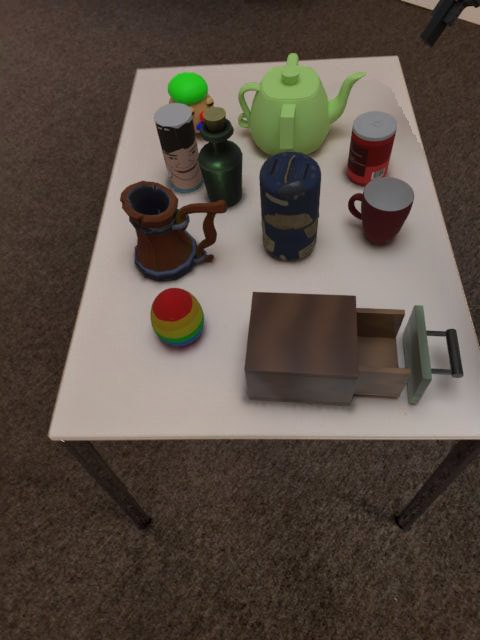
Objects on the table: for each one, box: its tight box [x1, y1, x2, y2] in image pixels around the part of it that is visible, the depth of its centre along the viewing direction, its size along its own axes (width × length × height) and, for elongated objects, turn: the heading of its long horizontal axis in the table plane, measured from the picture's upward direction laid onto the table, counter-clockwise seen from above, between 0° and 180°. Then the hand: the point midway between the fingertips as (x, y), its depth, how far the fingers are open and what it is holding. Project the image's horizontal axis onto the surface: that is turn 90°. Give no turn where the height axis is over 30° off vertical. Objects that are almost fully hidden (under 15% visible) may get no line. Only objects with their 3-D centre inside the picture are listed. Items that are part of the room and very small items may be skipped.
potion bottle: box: [198, 106, 244, 208], centre depth 87 cm, size 8×8×18 cm
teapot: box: [237, 52, 367, 156], centre depth 97 cm, size 19×20×14 cm
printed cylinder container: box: [153, 103, 204, 194], centre depth 91 cm, size 7×7×15 cm
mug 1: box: [119, 180, 228, 282], centre depth 80 cm, size 18×12×15 cm, turn 81°
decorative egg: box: [149, 287, 205, 347], centre depth 74 cm, size 8×8×10 cm
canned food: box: [346, 110, 398, 187], centre depth 90 cm, size 8×8×11 cm
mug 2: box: [347, 176, 415, 245], centre depth 82 cm, size 11×8×10 cm
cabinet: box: [244, 291, 359, 406], centre depth 69 cm, size 15×13×10 cm
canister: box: [258, 152, 322, 262], centre depth 79 cm, size 10×10×18 cm
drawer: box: [353, 304, 465, 405], centre depth 68 cm, size 18×11×8 cm, turn 84°
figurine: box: [167, 71, 215, 134], centre depth 101 cm, size 11×10×12 cm
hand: (426, 41), depth 79 cm, fingers closed
